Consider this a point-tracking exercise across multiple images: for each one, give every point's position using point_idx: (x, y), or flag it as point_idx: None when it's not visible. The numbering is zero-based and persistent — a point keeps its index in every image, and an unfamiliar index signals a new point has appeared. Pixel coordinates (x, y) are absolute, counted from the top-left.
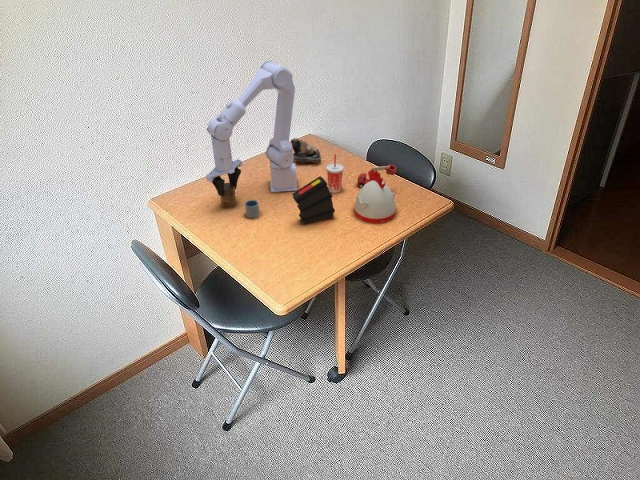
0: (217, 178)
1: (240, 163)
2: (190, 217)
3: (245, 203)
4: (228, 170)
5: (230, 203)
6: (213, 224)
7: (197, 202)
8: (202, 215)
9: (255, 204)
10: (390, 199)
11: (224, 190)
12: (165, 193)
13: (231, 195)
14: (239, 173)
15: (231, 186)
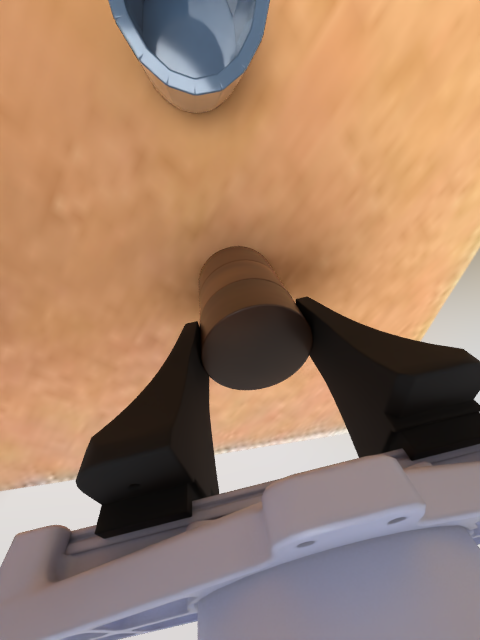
0: (450, 426)
1: (17, 599)
2: (405, 293)
3: (245, 58)
4: (398, 548)
5: (255, 257)
6: (418, 165)
7: (311, 361)
8: (372, 277)
9: (133, 18)
10: None
11: (305, 319)
12: (328, 430)
13: (253, 278)
14: (123, 427)
15: (234, 335)
